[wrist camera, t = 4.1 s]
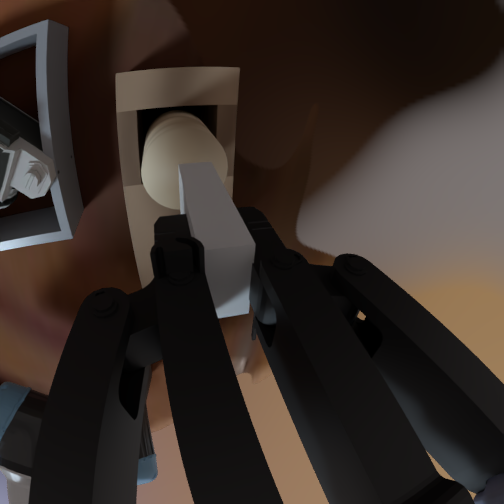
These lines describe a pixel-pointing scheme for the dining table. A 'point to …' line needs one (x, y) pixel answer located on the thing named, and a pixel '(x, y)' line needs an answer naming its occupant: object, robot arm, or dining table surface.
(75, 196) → the caddy
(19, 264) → the dining table surface
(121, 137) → the beige slotted holder
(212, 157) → the cream rounded upright piece
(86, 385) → the robot arm
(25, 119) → the camera
